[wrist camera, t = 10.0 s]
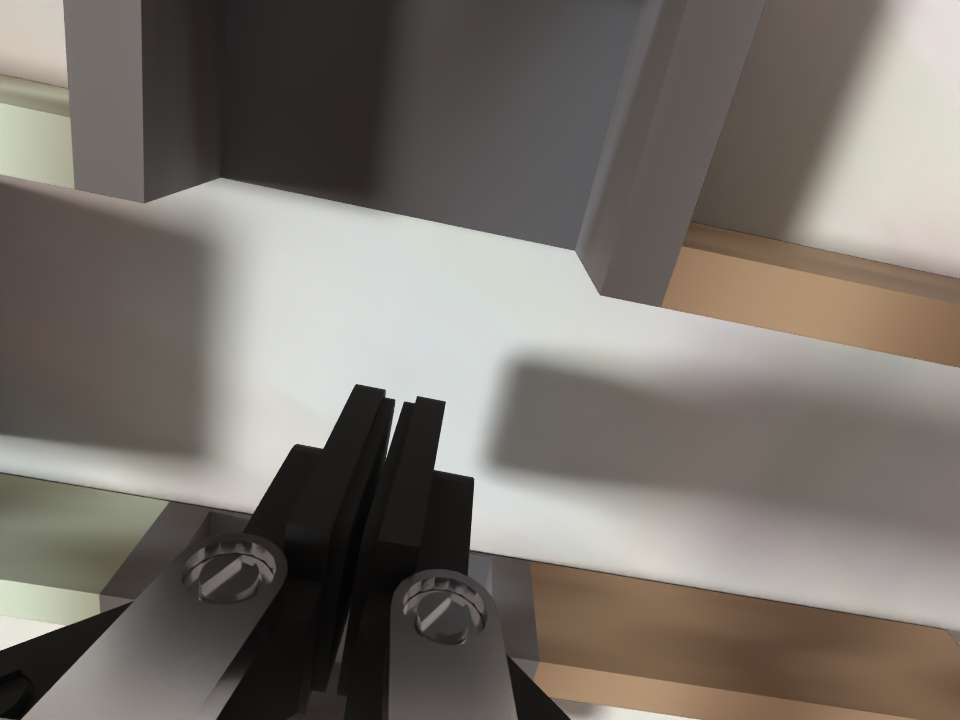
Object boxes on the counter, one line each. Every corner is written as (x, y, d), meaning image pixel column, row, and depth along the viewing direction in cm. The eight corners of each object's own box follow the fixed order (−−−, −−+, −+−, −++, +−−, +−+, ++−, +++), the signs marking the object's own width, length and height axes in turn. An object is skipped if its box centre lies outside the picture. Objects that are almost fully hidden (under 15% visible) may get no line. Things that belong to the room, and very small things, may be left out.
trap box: (1319, 94, 11) (1899, 97, 7) (855, 759, 19) (974, 977, 14) (-737, -423, 9) (-2124, -1005, 4) (-315, 589, 16) (-629, 787, 12)
